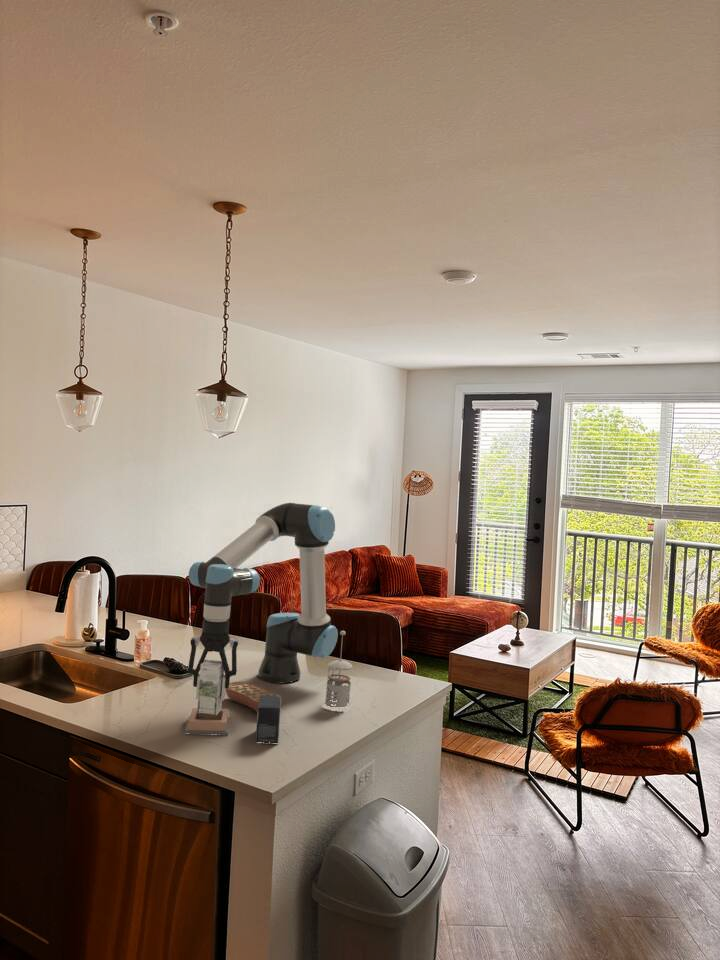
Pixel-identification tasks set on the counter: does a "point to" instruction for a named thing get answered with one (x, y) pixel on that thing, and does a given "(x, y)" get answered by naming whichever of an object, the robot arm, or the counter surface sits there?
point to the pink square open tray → (208, 723)
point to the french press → (338, 683)
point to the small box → (268, 719)
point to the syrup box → (210, 687)
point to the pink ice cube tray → (246, 693)
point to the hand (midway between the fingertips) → (210, 698)
